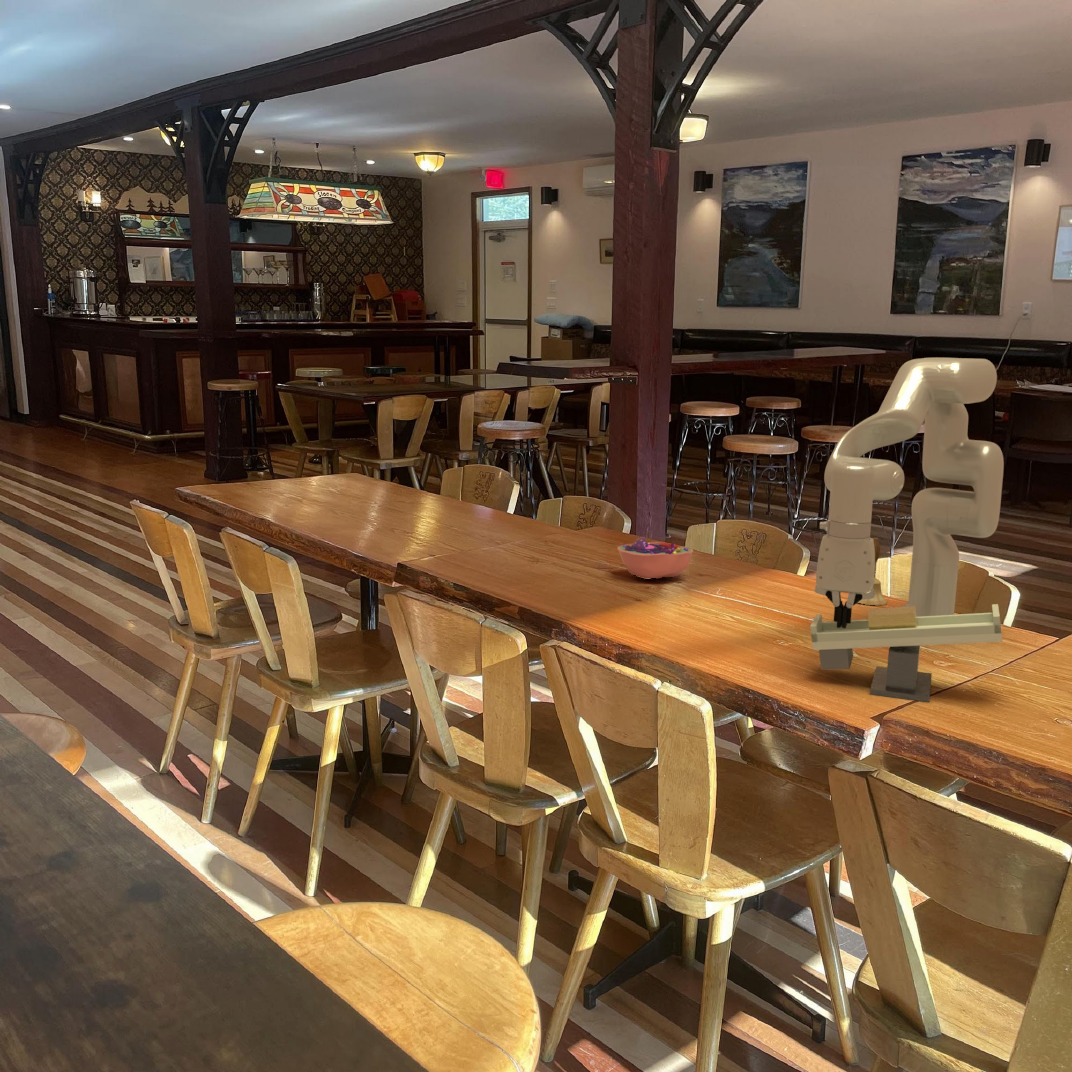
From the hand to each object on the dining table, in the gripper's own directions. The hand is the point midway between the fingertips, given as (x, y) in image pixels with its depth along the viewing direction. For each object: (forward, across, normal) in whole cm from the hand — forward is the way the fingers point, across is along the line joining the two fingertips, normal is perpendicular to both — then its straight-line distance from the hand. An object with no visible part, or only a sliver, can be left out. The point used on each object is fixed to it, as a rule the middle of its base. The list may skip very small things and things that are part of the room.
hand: (841, 626), depth 188 cm
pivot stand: (+10, +11, 0) cm, 15 cm away
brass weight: (0, +9, 0) cm, 9 cm away
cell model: (+10, -54, +63) cm, 84 cm away
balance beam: (+5, +12, 0) cm, 13 cm away
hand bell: (+10, +1, +62) cm, 63 cm away
